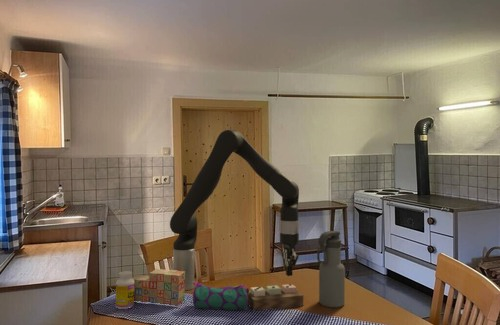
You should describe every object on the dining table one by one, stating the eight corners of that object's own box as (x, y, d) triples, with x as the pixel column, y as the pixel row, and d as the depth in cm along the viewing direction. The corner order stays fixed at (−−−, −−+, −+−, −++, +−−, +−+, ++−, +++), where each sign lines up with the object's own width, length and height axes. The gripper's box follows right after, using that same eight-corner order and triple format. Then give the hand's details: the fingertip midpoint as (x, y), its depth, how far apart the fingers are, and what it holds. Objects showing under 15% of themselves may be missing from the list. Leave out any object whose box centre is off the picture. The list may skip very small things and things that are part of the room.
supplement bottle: (128, 311, 138) (128, 275, 138) (111, 309, 139) (112, 274, 140) (137, 304, 145) (137, 270, 145) (121, 303, 146) (122, 269, 146)
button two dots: (285, 294, 147) (285, 287, 147) (281, 291, 151) (281, 284, 151) (296, 293, 148) (296, 286, 148) (291, 290, 153) (291, 283, 153)
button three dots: (254, 297, 143) (254, 290, 143) (250, 294, 147) (250, 286, 147) (265, 296, 144) (265, 289, 145) (261, 293, 149) (261, 285, 149)
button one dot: (270, 296, 145) (270, 288, 145) (266, 292, 149) (266, 285, 149) (280, 295, 146) (280, 287, 146) (276, 291, 151) (276, 284, 151)
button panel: (253, 311, 139) (253, 300, 139) (244, 300, 151) (244, 290, 151) (303, 305, 145) (303, 295, 145) (290, 295, 156) (290, 285, 157)
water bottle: (329, 310, 141) (329, 234, 141) (313, 301, 149) (313, 230, 150) (349, 305, 145) (350, 232, 146) (333, 297, 154) (333, 229, 155)
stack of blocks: (127, 302, 147) (127, 271, 147) (135, 297, 153) (136, 267, 153) (178, 307, 142) (178, 275, 142) (185, 302, 148) (185, 270, 148)
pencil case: (248, 305, 145) (249, 280, 145) (247, 314, 136) (247, 287, 137) (195, 303, 146) (195, 279, 146) (190, 312, 137) (190, 286, 138)
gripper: (274, 229, 155) (274, 271, 155) (286, 234, 143) (286, 280, 142) (291, 228, 158) (291, 270, 157) (305, 233, 145) (305, 279, 145)
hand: (289, 275), depth 150 cm, fingers closed
